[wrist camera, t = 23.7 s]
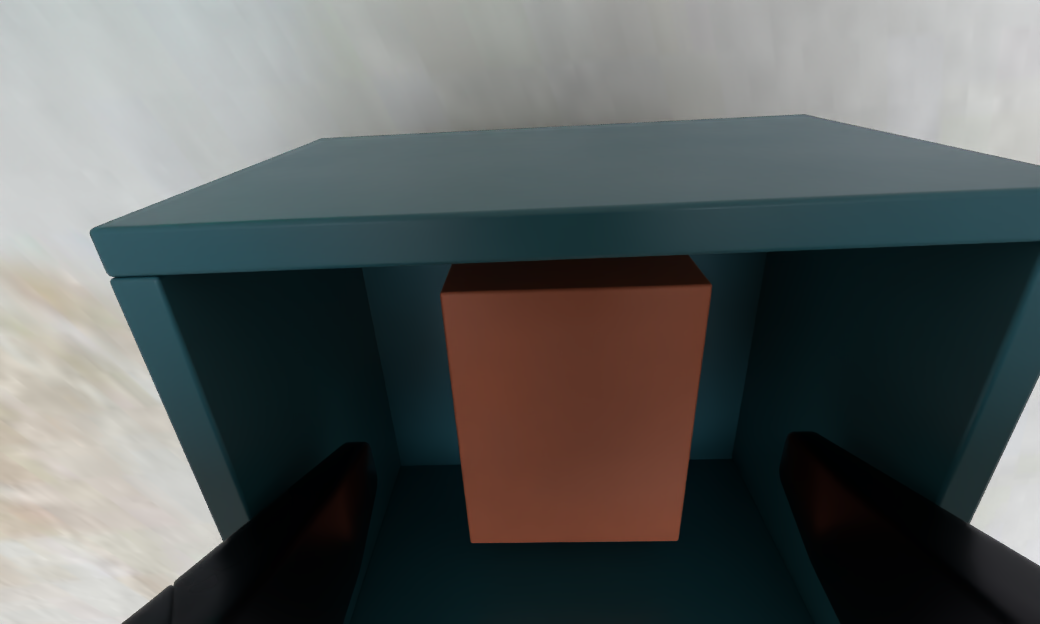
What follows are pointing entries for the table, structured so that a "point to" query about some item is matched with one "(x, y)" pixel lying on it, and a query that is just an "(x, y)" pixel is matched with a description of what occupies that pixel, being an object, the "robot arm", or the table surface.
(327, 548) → the robot arm
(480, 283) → the reddish brown block
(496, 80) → the table surface
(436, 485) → the open box
